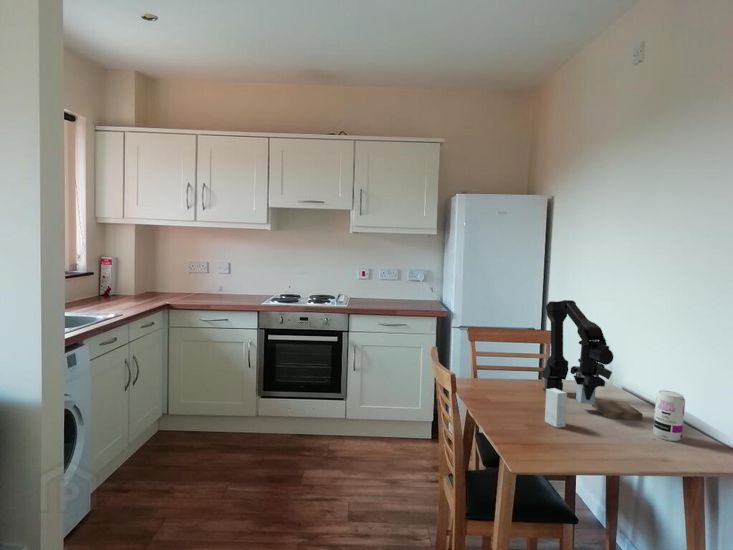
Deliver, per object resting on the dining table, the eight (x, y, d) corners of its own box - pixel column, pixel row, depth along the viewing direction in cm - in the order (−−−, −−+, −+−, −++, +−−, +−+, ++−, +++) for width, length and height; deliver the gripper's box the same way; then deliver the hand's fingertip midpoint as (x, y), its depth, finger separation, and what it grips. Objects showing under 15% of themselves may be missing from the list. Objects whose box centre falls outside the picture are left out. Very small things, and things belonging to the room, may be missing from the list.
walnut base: (605, 417, 176) (606, 411, 176) (591, 405, 189) (592, 399, 189) (641, 420, 175) (642, 413, 175) (625, 408, 188) (625, 402, 188)
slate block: (580, 403, 180) (582, 387, 180) (575, 399, 185) (577, 384, 185) (594, 404, 180) (595, 388, 179) (589, 400, 185) (590, 385, 184)
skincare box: (566, 427, 164) (568, 392, 163) (555, 428, 162) (558, 393, 162) (553, 420, 170) (555, 387, 169) (543, 421, 168) (545, 388, 167)
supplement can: (677, 434, 162) (681, 392, 161) (684, 443, 154) (688, 399, 153) (650, 430, 165) (654, 388, 164) (656, 439, 157) (660, 395, 156)
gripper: (621, 365, 172) (617, 407, 173) (599, 354, 190) (596, 392, 191) (590, 363, 172) (586, 405, 173) (571, 352, 191) (568, 390, 192)
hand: (585, 397), depth 182 cm, fingers closed on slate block, 5 cm apart
